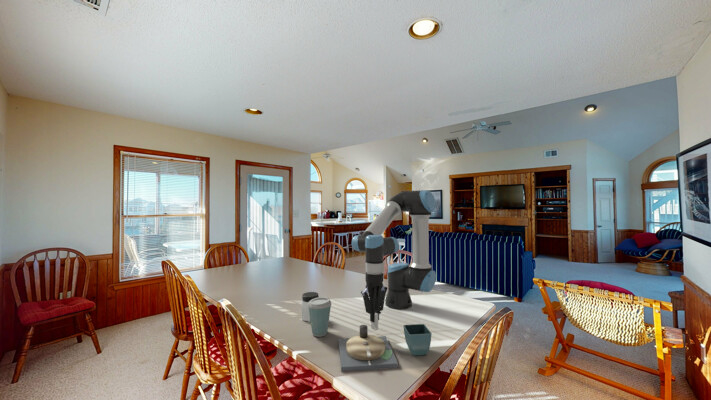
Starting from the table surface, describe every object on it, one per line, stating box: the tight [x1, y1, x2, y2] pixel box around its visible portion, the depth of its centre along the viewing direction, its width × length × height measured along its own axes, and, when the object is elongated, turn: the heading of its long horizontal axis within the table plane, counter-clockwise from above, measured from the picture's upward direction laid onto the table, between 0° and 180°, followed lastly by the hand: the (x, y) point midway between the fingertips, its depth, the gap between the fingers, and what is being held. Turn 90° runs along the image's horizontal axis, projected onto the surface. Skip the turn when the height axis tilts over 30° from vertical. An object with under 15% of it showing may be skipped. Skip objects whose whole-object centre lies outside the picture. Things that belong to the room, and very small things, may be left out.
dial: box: [346, 324, 385, 360], centre depth 105 cm, size 17×15×6 cm
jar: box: [301, 291, 320, 323], centre depth 139 cm, size 9×8×12 cm
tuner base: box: [338, 335, 399, 372], centre depth 105 cm, size 20×20×2 cm
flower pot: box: [403, 323, 433, 356], centre depth 107 cm, size 9×9×9 cm
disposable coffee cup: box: [308, 296, 332, 338], centre depth 122 cm, size 11×11×15 cm
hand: (374, 328), depth 115 cm, fingers closed
